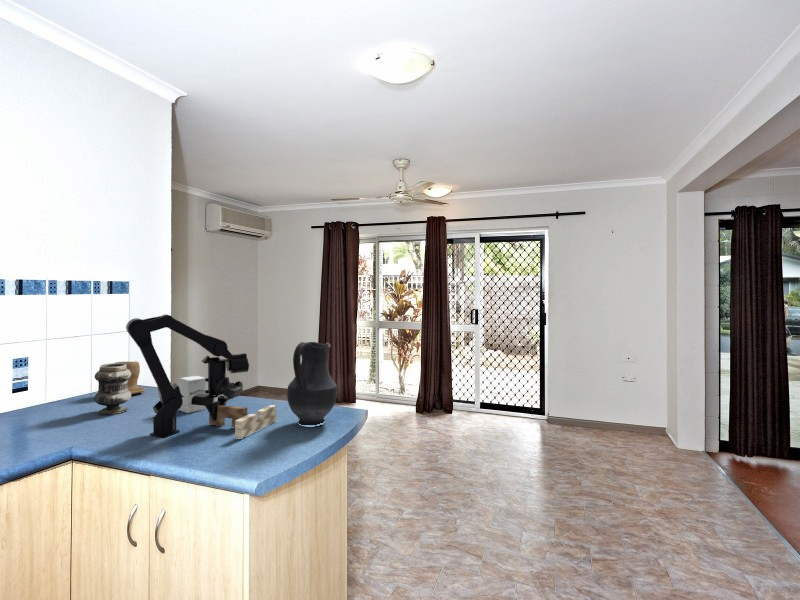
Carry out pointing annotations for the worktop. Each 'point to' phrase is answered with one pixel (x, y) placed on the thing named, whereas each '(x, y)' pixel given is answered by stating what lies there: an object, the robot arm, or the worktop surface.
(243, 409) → the walnut bar
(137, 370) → the curved wooden stand
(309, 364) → the pitcher
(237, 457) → the worktop surface
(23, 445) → the worktop surface
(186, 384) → the supplement box
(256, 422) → the birch rail
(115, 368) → the apothecary jar
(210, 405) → the robot arm
